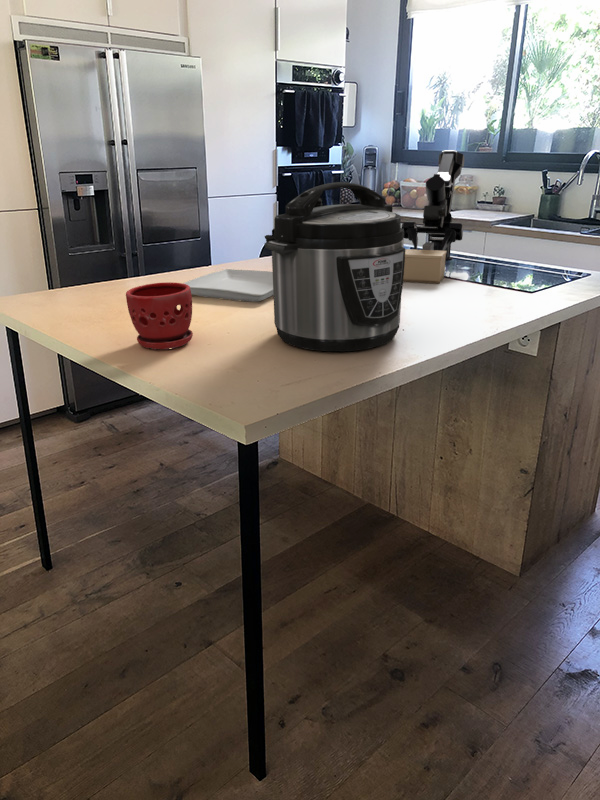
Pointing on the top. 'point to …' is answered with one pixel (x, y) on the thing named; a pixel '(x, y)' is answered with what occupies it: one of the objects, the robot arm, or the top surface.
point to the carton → (424, 270)
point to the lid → (425, 252)
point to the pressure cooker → (337, 271)
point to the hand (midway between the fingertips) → (427, 252)
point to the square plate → (234, 285)
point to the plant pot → (161, 314)
